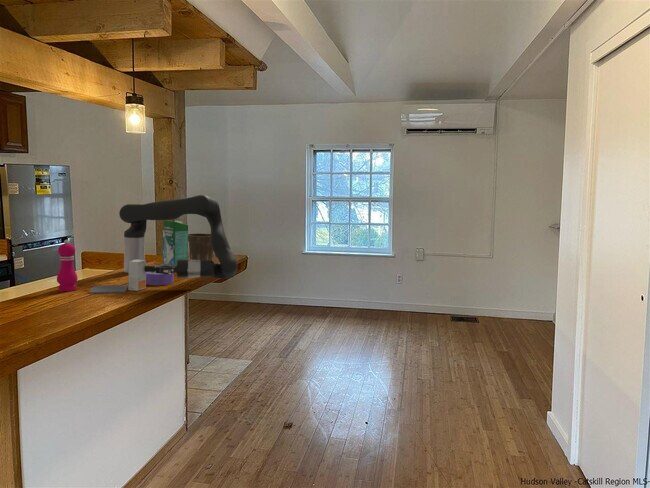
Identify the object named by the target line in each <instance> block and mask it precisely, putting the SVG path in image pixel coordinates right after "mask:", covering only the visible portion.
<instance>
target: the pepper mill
mask: <svg viewBox="0 0 650 488" xmlns="http://www.w3.org/2000/svg"><path fill="white" fill-rule="evenodd" d="M57 253H58V254H59V255H60V256H59V261H60V268H59V270H58V273H57V275H56V282H57V283H58V284H59V285H58V288H57V290H58V291H59V292H63V291H67V292H74V291H76V290H77V284H76V283H77V282H78V273H77V272H76V270H75V267H74V260H75V256H74V254H75V253H76V247H75V245H73V244H71V243H70V240H68V239H65V240H64V241H63V244H60V245H59V246H58V248H57ZM73 290H74V291H73Z"/></svg>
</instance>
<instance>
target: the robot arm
mask: <svg viewBox="0 0 650 488" xmlns="http://www.w3.org/2000/svg"><path fill="white" fill-rule="evenodd" d="M220 208H221V207H220V205H219V202H218V201H217V200H216V199H215V198H212V197H211V196H208V195H204V194H199V195H194V196H192V197H191V196H190V197H186V198H177V199H175V198H174V199H165V200H157V201H153V202H149V203H143V204H140V203H128V204H125V205H123V206H121V208H120V210H119V212H118V214H119V217H120V219H121V220H122V222H124V223H127V224H130V227H128V228H127V229H126V230H125V231H124V233H123V237H124V238H123V240H124V241H123V248H124V251H123V253H124V256H123V258H124V259H123V268H124V269H123V270H124V271H123V272H124V273H125V274H129V261H132V260H137V259H139V260H146V259H145V256H146V255H145V254H146V253H145V250H146V249H145V245H146V244H145V234H146V232H147V221H163V220H165V221H173V220H176V219H179V218H180V217H182V216H183V215H198V216H201V217H203V218H206V220H207V222H208V224H209V227H210V234H211V236H210V240H211V245H212V248H213V250H214V251H213V254H214V256H215V258H216V259H218V261H219V262H218V263H215V262H214V261H213V260H212V261H210V260H190V259H188V260H177V265H172V263H169V264H168V263H167V264H163V263H160V264H155V265H146V266H145V272H156V273H161V274H172V273H173V274H175V273H176V277H177V278H178V279H180V278H182V279H183V278H184V279H185V278H186V279H187V278H192V279H193V278H208V277H209V278H210V277H211V278H217V279H221V280H222V279H223V280H228V279H232V278H234V277H235V275H236V274H237V270H238V262H237V259H236V257H235V255H234V254H233V251H232V250H231V247H230V245H229V241H228V239H227V235H226V233H225V229H224V224H223V220H222V219H223V218H222V215H221V209H220Z"/></svg>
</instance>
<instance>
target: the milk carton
mask: <svg viewBox="0 0 650 488" xmlns="http://www.w3.org/2000/svg"><path fill="white" fill-rule="evenodd" d="M188 234H189V225H188V224H185V223H183V221H180V220H176V219H174V221H173V220H162V264H167V263H168V264H169V263H172V265H177V260H189V242H188Z"/></svg>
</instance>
